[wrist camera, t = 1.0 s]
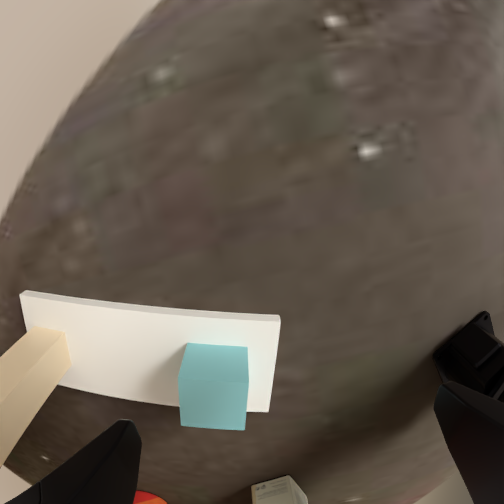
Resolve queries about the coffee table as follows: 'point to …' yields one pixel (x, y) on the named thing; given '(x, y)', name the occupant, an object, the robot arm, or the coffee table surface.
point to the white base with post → (120, 354)
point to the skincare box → (278, 492)
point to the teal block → (214, 386)
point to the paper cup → (147, 498)
